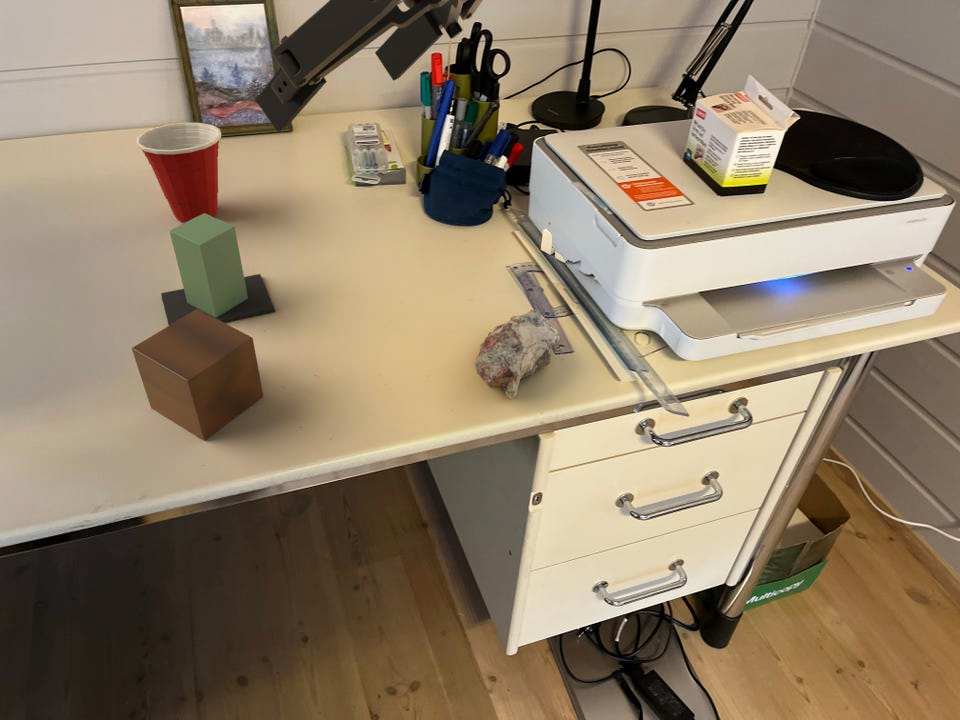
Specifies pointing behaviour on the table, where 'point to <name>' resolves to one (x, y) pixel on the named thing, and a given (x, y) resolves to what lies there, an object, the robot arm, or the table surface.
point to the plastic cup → (185, 166)
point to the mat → (250, 307)
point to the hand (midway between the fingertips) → (332, 88)
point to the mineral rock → (515, 351)
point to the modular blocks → (549, 245)
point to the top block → (209, 264)
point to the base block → (199, 373)
